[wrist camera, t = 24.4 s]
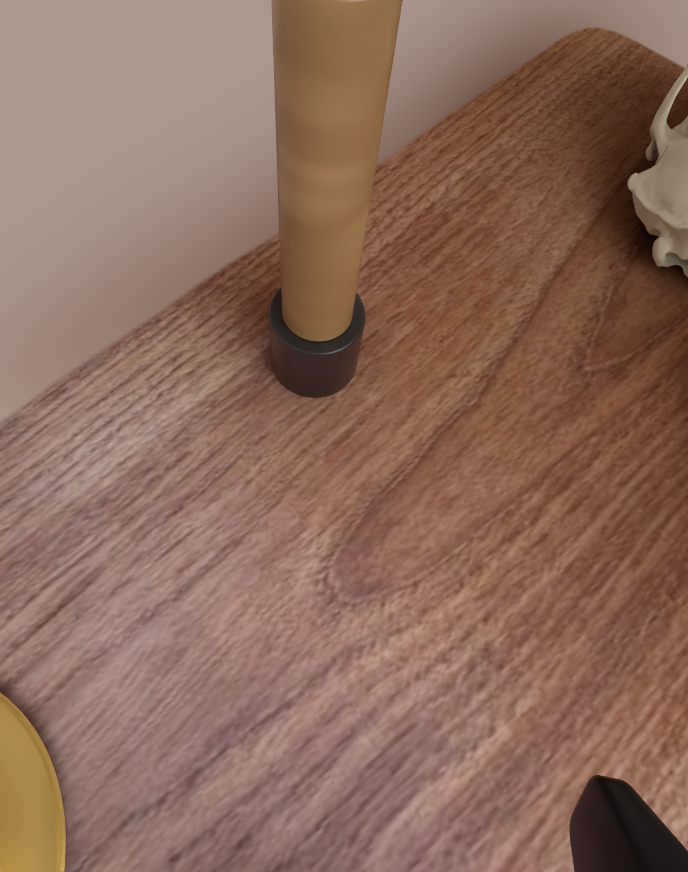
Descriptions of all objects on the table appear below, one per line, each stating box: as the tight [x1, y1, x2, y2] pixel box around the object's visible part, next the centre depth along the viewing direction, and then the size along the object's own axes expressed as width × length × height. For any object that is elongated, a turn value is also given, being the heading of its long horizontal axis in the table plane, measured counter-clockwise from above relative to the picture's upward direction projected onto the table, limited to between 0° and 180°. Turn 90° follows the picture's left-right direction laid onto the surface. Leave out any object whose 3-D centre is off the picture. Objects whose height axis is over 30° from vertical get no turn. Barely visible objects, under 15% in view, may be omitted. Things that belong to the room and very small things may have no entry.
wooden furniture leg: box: [269, 0, 402, 397], centre depth 18 cm, size 4×4×15 cm
